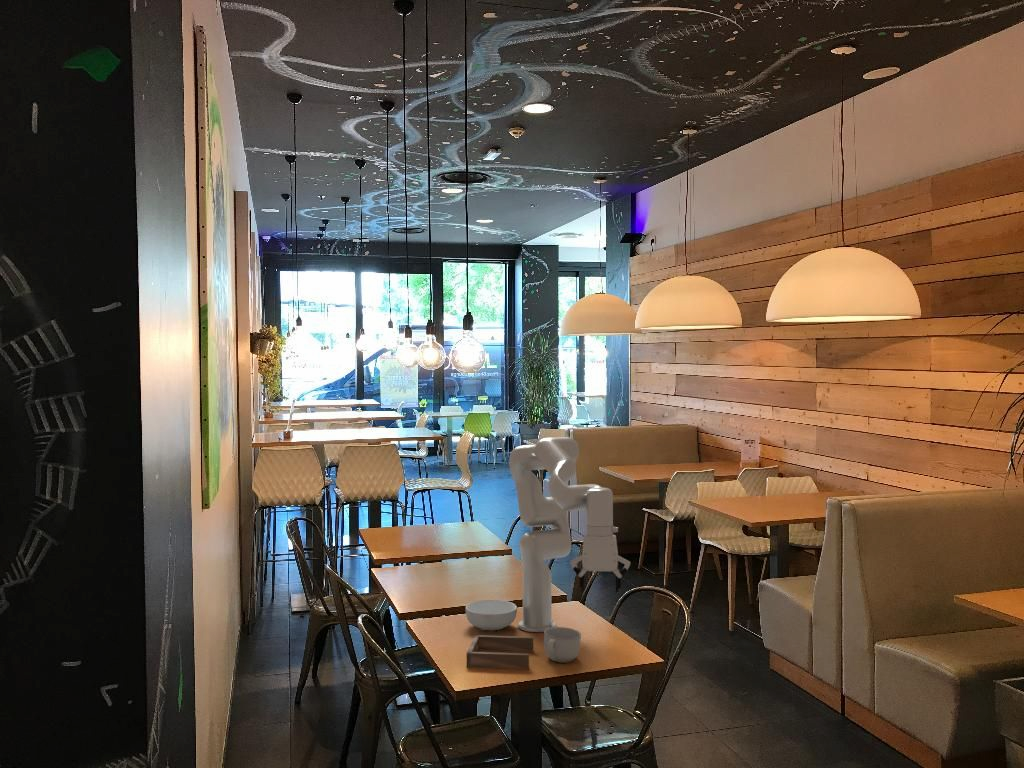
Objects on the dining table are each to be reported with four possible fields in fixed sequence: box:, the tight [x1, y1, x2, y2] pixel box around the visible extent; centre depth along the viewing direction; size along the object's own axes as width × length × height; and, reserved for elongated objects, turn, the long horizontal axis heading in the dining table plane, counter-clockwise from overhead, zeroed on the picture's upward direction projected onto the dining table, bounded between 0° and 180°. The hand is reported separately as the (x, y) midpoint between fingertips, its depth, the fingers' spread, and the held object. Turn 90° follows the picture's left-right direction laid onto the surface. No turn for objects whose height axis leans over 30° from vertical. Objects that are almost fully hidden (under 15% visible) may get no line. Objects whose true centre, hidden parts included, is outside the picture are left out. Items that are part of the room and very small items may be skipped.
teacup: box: [543, 626, 582, 663], centre depth 239 cm, size 14×11×8 cm
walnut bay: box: [466, 634, 534, 670], centre depth 241 cm, size 16×18×4 cm
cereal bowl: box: [465, 599, 518, 631], centre depth 271 cm, size 17×17×7 cm
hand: (600, 590), depth 236 cm, fingers open, 9 cm apart
